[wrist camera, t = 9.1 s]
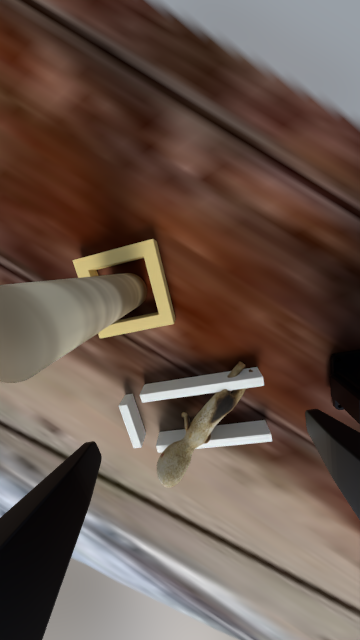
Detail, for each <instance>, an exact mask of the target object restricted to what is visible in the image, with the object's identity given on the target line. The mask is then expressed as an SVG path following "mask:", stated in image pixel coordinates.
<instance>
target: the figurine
mask: <svg viewBox="0 0 360 640" xmlns="http://www.w3.org/2000/svg"><path fill="white" fill-rule="evenodd" d="M245 367H246V365H245V364H243V363H242V362H241V361H239V362H238V364H237V365H236V366H235V367H234V368H233V370H232V371H231V372H230V373H229V375H228V376H227V377H228V378H232V377H235V376H237V375H239V374H240V372H241V371H242V370H243V369H244V368H245ZM249 372H253V370H251V369H249ZM245 389H246V388H244V389H237V390H232V391H231V392H230V391H228V390H227V389H224V390H222V391H220V392H216V393H215V395H214V396H213V397H212V398H211V399H210V400H209V401H208V402H207V403H206V404H205V406H204V407H203V408H202V409H201V410H200V412H199V413H198V414H197V415H196V416H195V418H194V419H193V420H192V422H190V417H189V415H188V414H187V413H186V412H182V414H181V416H182V418H184V425H185V430H186V434H185V437H184V438H183V439H181V440H179V441H176V442H174V443H172V444H171V445H169V446H168V447H167V448H166V449H165V450H164V451H163V452H162V454H161V455H160V457H159V460H158V462H157V474H158V478H159V480H160V482H161V484H162V485H163V486H165V487H173V486H175V485H176V484H178V483H179V482H180V480H181V479H182V477H183V476H184V474H185V472H186V470H187V468H188V466H189V463H190V461H191V456H192V453H193V451H194V449H196V448H197V447H198V446H200V445H202V444H206V443H208V442H209V441H210V439H211V432H212V430H213V429H214V427H215V426H216V425H217V424H218V422H219V421H220V420H221V419H222V418H223V417H224V416H225V415H226V414H228V413H229V412H230V411H231V410H233V408H234V407H235V406H236V404H237V403H238V401H239V400H240V398H241V397H242V395H243V393H244V391H245Z"/></svg>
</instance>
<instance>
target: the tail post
mask: <svg viewBox="0 0 360 640" xmlns="http://www.w3.org/2000/svg"><path fill="white" fill-rule="evenodd" d="M146 297H147V287H146V284H145V282H144V281H143V280H142V278H141V277H139V276H138V275H136V274H133V273H124V274H113V275H103V276H92V277H81V278H71V279H60V280H50V281H39V282H29V283H18V284H8V285H0V382H5V383H17V382H22V381H25V380H27V379H29V378H31V377H32V376H34V375H35V374H37V373H38V372H40V371H41V370H43V369H44V368H46V367H47V366H49V365H50V364H52V363H53V362H55V361H56V360H58V359H59V358H61V357H63V356H64V355H66V354H67V353H69V352H70V351H72V350H73V349H75V348H76V347H78V346H79V345H81V344H82V343H84V342H85V341H87V340H88V339H90V338H91V337H93V336H94V335H96V334H97V333H99V332H100V331H102V330H103V329H105V328H106V327H108V326H109V325H111V324H112V323H114V322H116V321H117V320H119V319H120V318H122V317H123V316H125V315H126V314H128V313H129V312H131V311H132V310H134V309H135V308H137V307H138V306H140V305H141V304H142V303H143V302H144V301H145V299H146Z"/></svg>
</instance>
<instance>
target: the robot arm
mask: <svg viewBox="0 0 360 640" xmlns="http://www.w3.org/2000/svg"><path fill="white" fill-rule="evenodd" d="M337 358H338V360H336V359H337ZM330 385H331V396H332V398H333V406H334V407H335V408H336V409H338V410H344V409H345V410H346V411H347V412H348V413H349V414H350V415H351V416H352V417H353V418H354V419H355V420H356V421H357V422H358V423H359V424H360V350H356V351H350V352H343V353H337V354H333V355H332V356H331V376H330ZM339 404H340V405H339ZM305 416H306V426H307V430H308V433H309V435H310V437H311V439H312V441H313V442H314V444H315V446H316V448H317V450H318V452H319V454H320V456H321V458H322V459H323V461H324V463H325V465H326V467H327V469H328V471H329V472H330V474H331V476H332V478H333V479H334V481H335V483H336V484H337V486H338V487H339V489H340V491H341V492H342V494H343V495H344V497H345V498H346V500H347V501H348V503H349V504H350V506H351V507H352V509H353V511H354V512H355V514H356V515H357V517H358V518H359V520H360V433H359V432H358V431H356V430H354V429H352V428H350V427H349V426H347V425H345V424H343V423H341V422H340V421H338V420H336V419H334V418H333V417H331V416H329V415H327V414H325V413H324V412H322V411H320V410H318V409H311V410H307V411H306V412H305ZM100 464H101V453H100V451H99V449H98V446H97V444H96V443H95V442H93V441H92V442H86V443H84V444H83V445H82V446H81V447H80V448H79V449H78V450H76V451H75V452H74V453H73V454H72V455H71V456H70V457H68V458H67V459H66V460H65V461H64V462H63V463H62V464H61V465H59V466H58V467H57V468H56V469H55V470H54V471H53V472H52V473H50V474H49V475H48V476H47V477H46V478H45V479H44V480H43V481H41V482H40V483H39V484H38V485H37V486H36V487H35V488H34V489H32V490H31V491H30V492H29V493H28V494H27V495H26V496H24V497H23V498H22V499H21V500H20V501H19V502H18V503H17V504H15V505H14V506H13V507H12V508H11V509H10V510H9V511H8V512H6V513H5V514H4V515H3V516H2V517H1V518H0V640H42V639H43V636H44V633H45V630H46V627H47V624H48V622H49V619H50V616H51V613H52V610H53V607H54V605H55V601H56V599H57V596H58V593H59V590H60V587H61V585H62V582H63V579H64V576H65V573H66V570H67V567H68V565H69V562H70V559H71V556H72V553H73V550H74V547H75V545H76V542H77V539H78V536H79V533H80V530H81V527H82V525H83V522H84V519H85V516H86V513H87V510H88V507H89V504H90V501H91V498H92V494H93V490H94V486H95V483H96V479H97V475H98V471H99V468H100Z"/></svg>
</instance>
